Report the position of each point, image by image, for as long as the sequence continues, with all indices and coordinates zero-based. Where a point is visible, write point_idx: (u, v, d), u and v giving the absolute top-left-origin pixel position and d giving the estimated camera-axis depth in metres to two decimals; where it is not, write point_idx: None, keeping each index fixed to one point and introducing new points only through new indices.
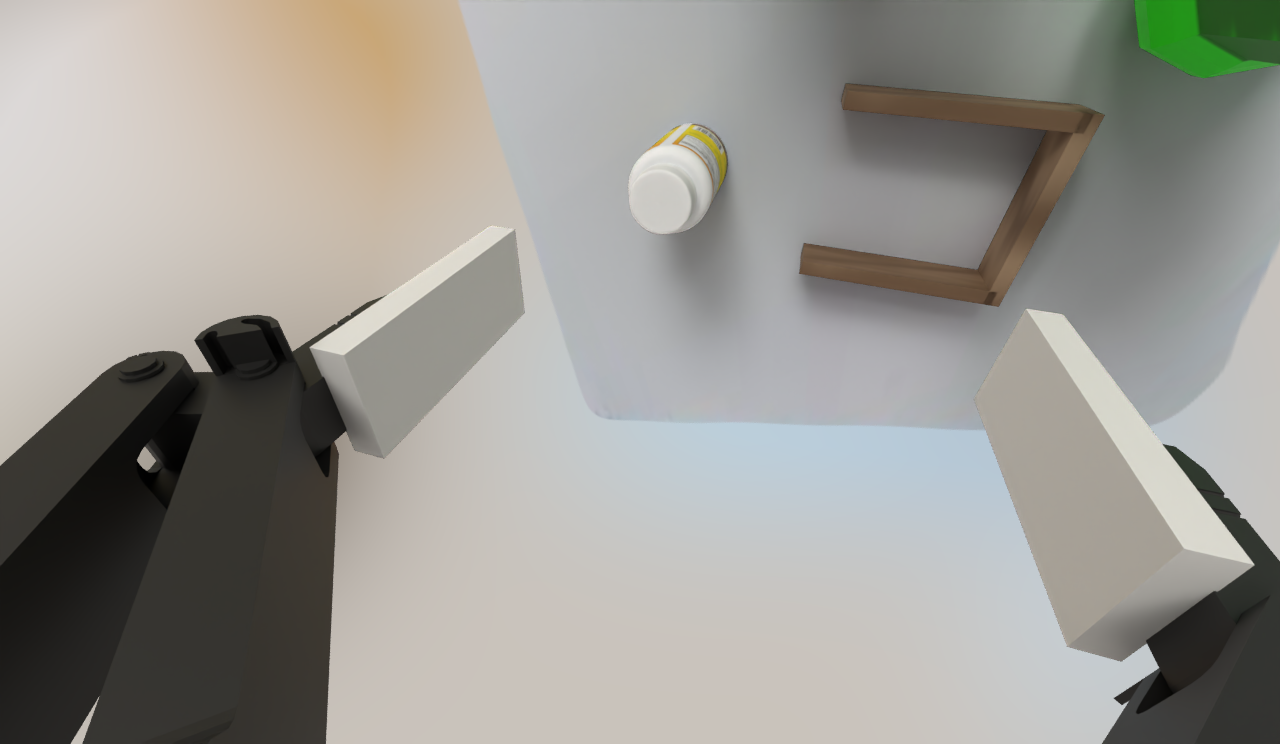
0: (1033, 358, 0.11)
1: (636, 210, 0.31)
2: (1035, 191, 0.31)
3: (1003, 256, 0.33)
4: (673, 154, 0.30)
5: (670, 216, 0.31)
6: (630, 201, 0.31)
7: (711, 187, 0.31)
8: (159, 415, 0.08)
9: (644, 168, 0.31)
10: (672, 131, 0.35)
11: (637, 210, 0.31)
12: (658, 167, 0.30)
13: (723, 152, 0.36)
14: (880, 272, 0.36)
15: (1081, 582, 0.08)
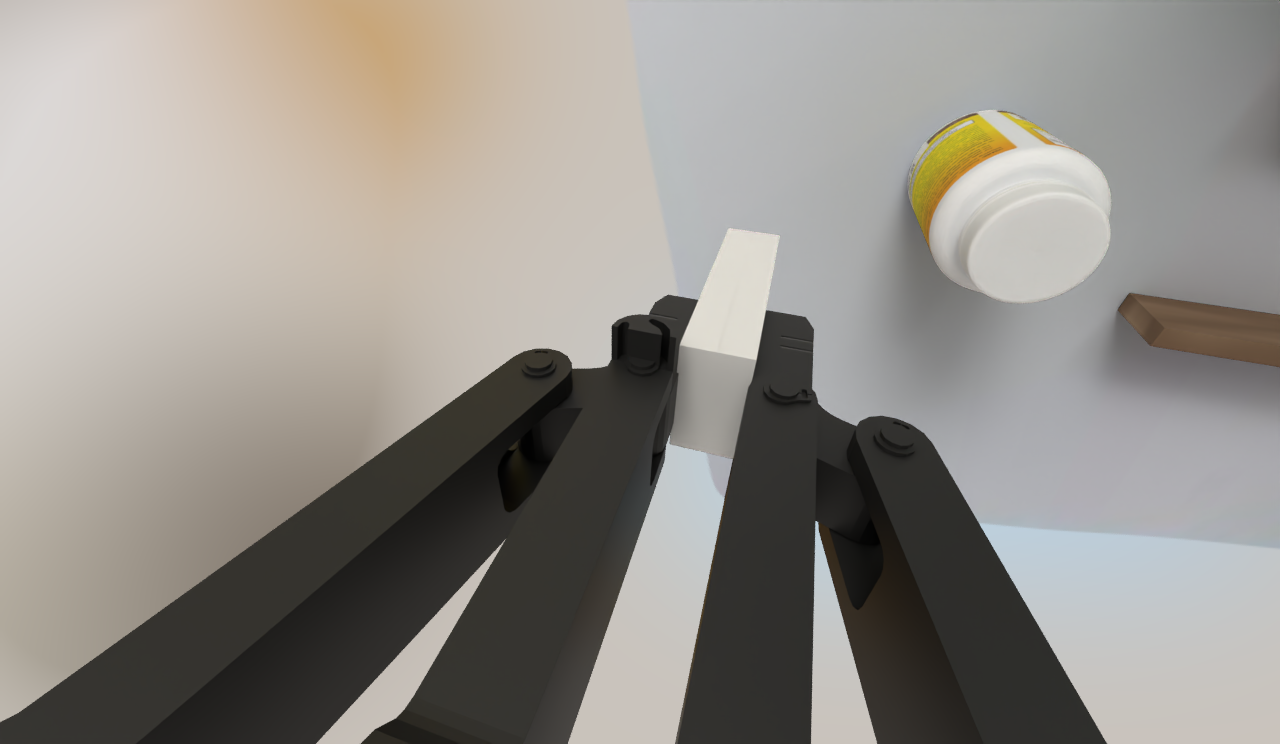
0: None
1: (980, 263, 0.17)
2: None
3: None
4: (1060, 163, 0.17)
5: (1050, 274, 0.17)
6: (974, 247, 0.17)
7: None
8: (533, 418, 0.09)
9: (989, 188, 0.18)
10: (980, 123, 0.21)
11: (982, 263, 0.17)
12: (1049, 187, 0.16)
13: None
14: None
15: None
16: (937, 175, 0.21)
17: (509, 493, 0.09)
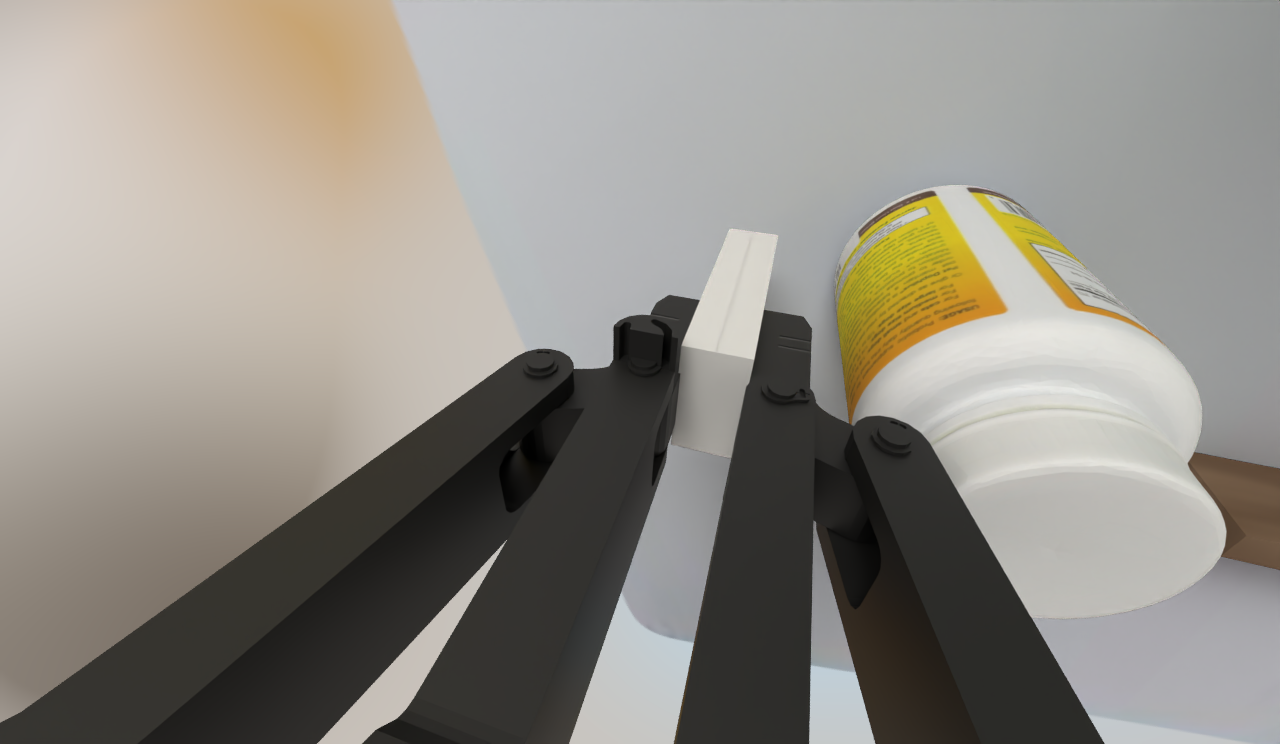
0: None
1: None
2: None
3: None
4: (1101, 359, 0.08)
5: (1085, 587, 0.08)
6: None
7: None
8: (534, 419, 0.09)
9: (954, 391, 0.09)
10: (938, 218, 0.12)
11: None
12: (1086, 435, 0.07)
13: None
14: None
15: None
16: (864, 319, 0.12)
17: (511, 494, 0.09)
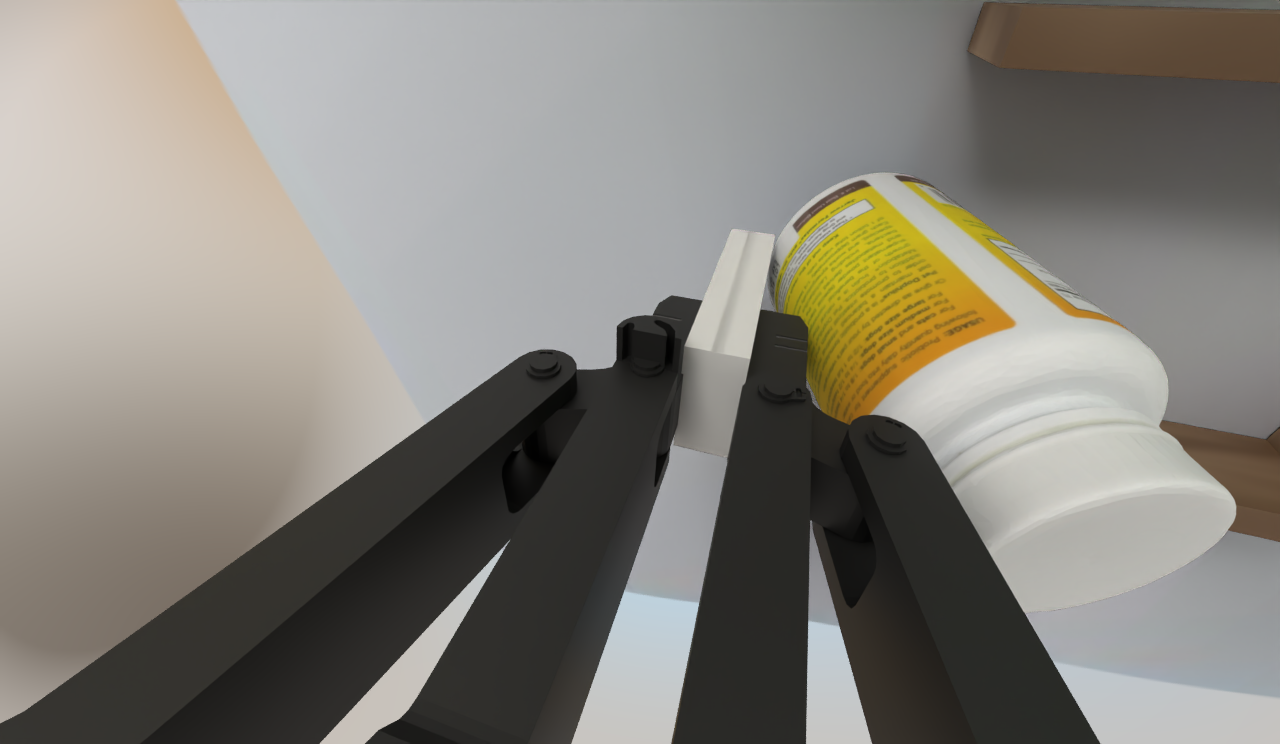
0: None
1: None
2: None
3: None
4: (1111, 366, 0.08)
5: (1105, 580, 0.09)
6: None
7: None
8: (537, 420, 0.09)
9: (976, 412, 0.08)
10: (887, 213, 0.12)
11: None
12: (1131, 453, 0.07)
13: None
14: None
15: None
16: (841, 329, 0.11)
17: (513, 494, 0.09)
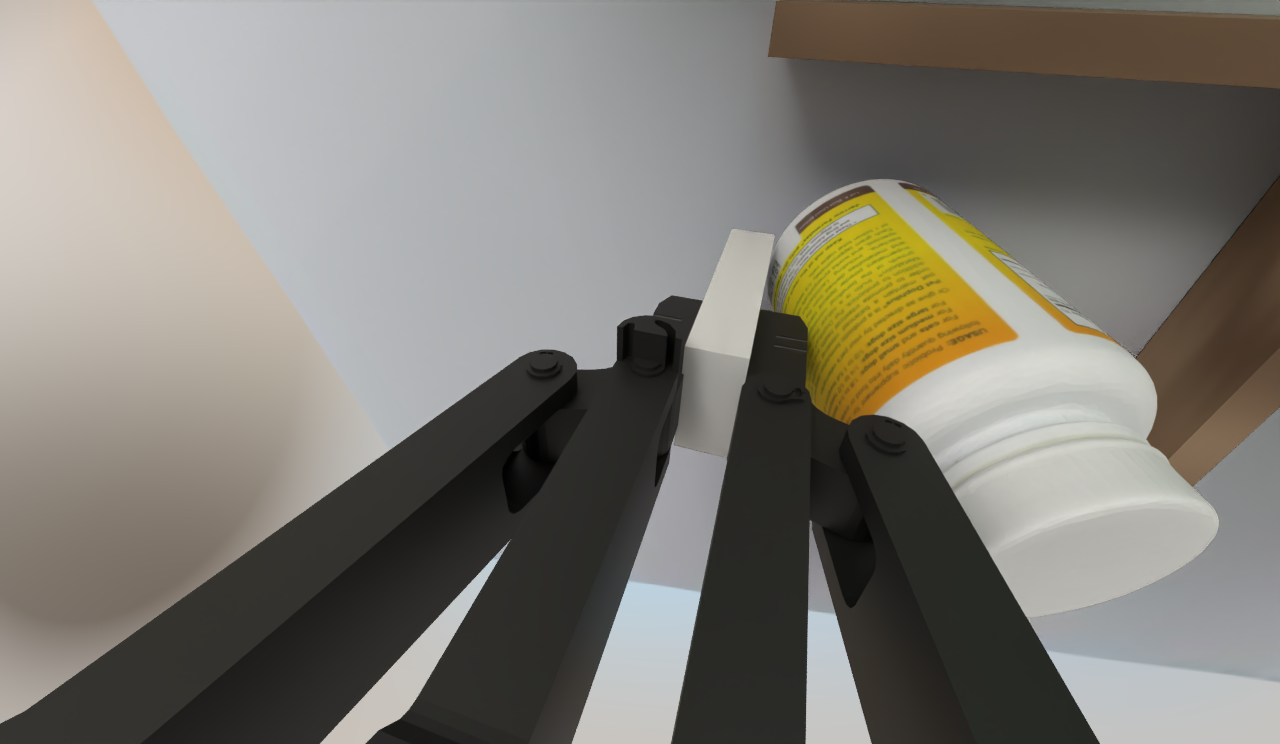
0: None
1: None
2: None
3: (1182, 416, 0.14)
4: (1107, 383, 0.08)
5: (1088, 589, 0.09)
6: None
7: None
8: (538, 420, 0.09)
9: (976, 422, 0.09)
10: (891, 220, 0.12)
11: None
12: (1123, 468, 0.07)
13: None
14: None
15: None
16: (842, 333, 0.11)
17: (513, 494, 0.09)
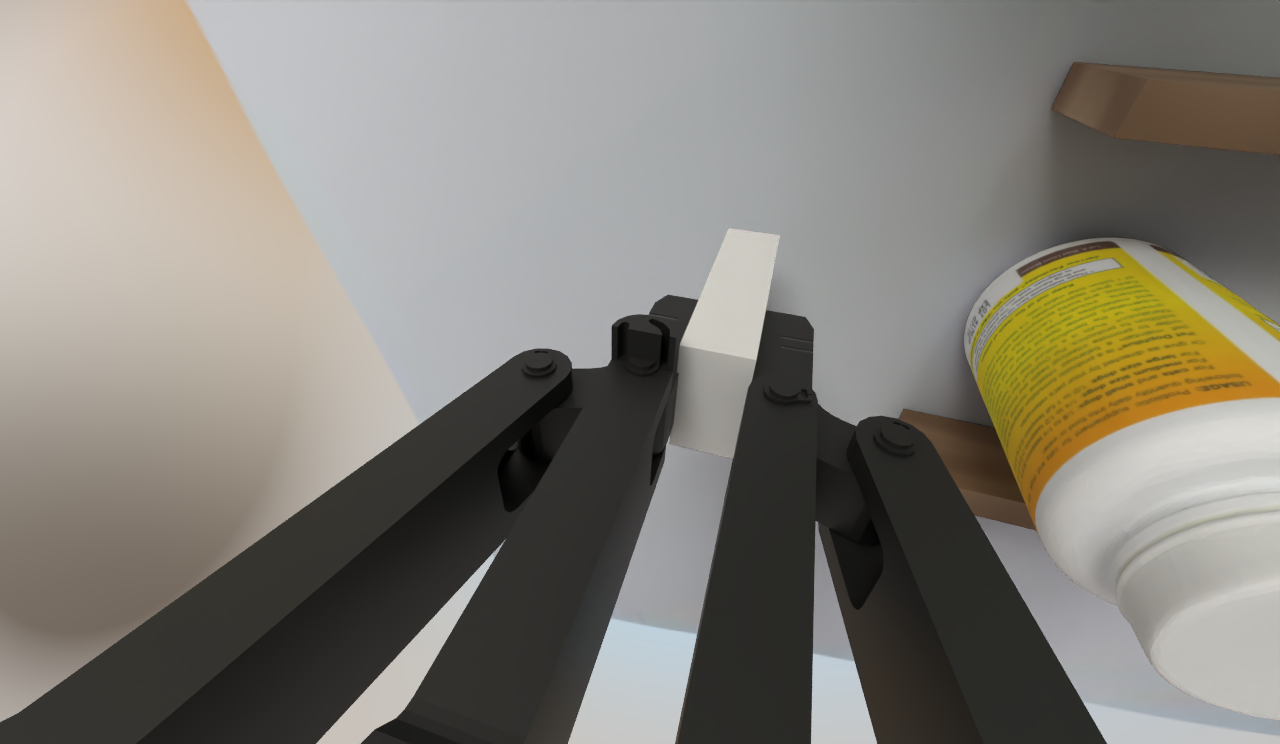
0: None
1: (1187, 642, 0.08)
2: None
3: None
4: None
5: None
6: (1186, 618, 0.08)
7: None
8: (533, 418, 0.09)
9: (1219, 471, 0.08)
10: (1138, 274, 0.12)
11: (1192, 643, 0.08)
12: None
13: None
14: None
15: None
16: (1060, 369, 0.11)
17: (509, 493, 0.09)
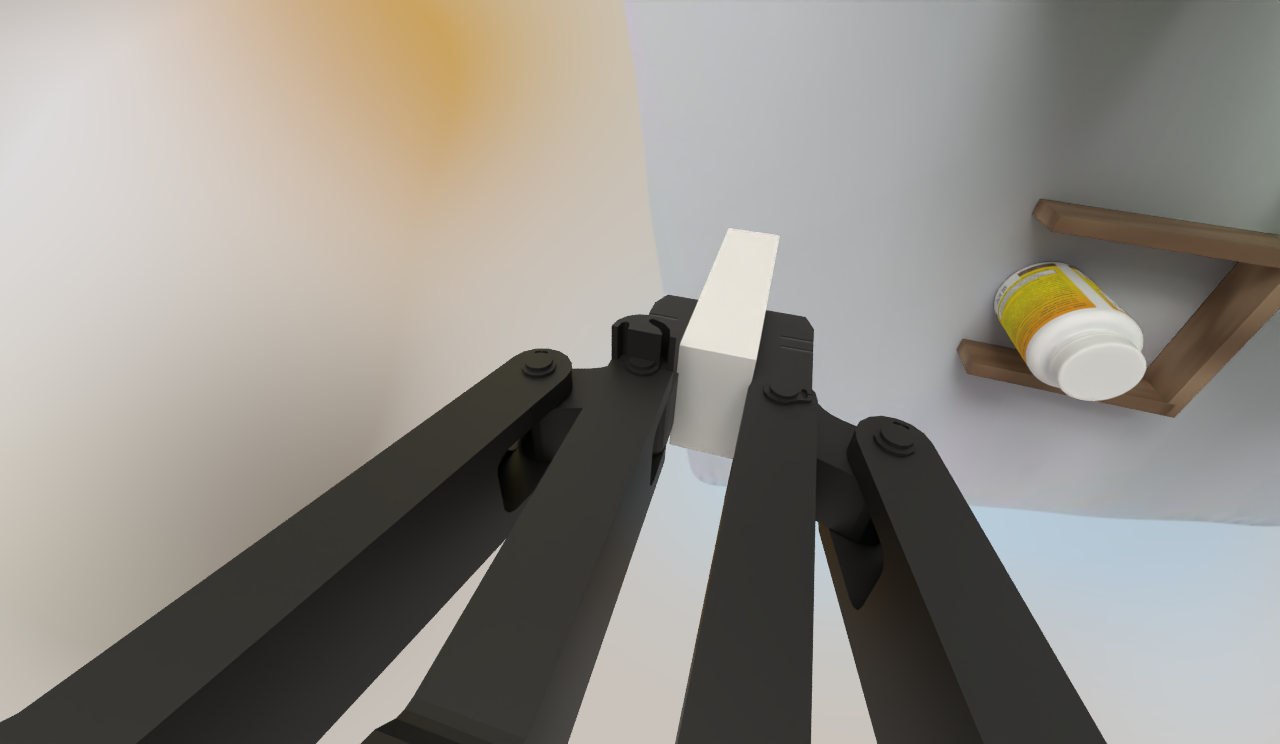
0: None
1: (1067, 373, 0.29)
2: (1233, 316, 0.31)
3: (1186, 372, 0.34)
4: (1121, 323, 0.28)
5: (1105, 387, 0.29)
6: (1066, 364, 0.29)
7: None
8: (533, 418, 0.09)
9: (1077, 328, 0.29)
10: (1061, 275, 0.33)
11: (1068, 374, 0.29)
12: (1117, 339, 0.28)
13: None
14: None
15: None
16: (1034, 306, 0.32)
17: (509, 493, 0.09)
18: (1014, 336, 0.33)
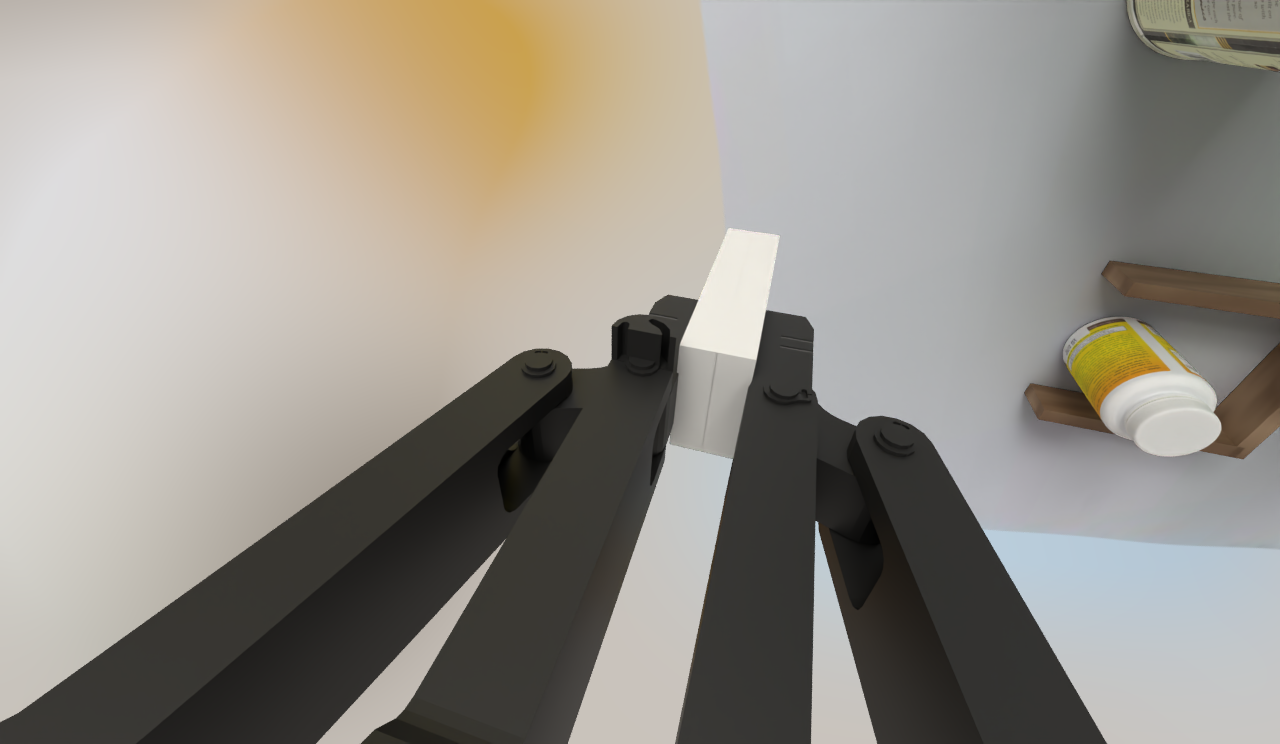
0: None
1: (1144, 433, 0.31)
2: None
3: (1255, 417, 0.36)
4: (1196, 386, 0.31)
5: (1181, 445, 0.31)
6: (1143, 425, 0.31)
7: None
8: (533, 418, 0.09)
9: (1152, 390, 0.31)
10: (1132, 332, 0.35)
11: (1145, 433, 0.31)
12: (1193, 403, 0.30)
13: None
14: None
15: None
16: (1107, 364, 0.34)
17: (509, 493, 0.09)
18: (1087, 390, 0.35)
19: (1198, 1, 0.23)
